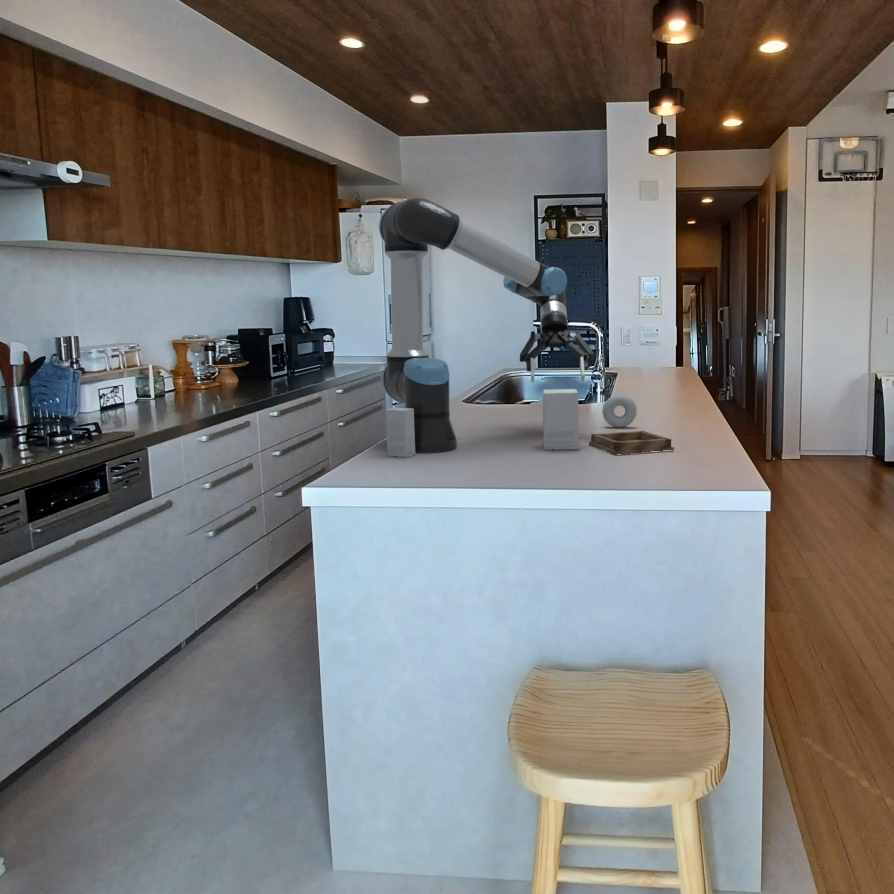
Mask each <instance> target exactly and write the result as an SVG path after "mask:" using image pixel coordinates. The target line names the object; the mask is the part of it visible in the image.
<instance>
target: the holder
mask: <svg viewBox="0 0 894 894" xmlns="http://www.w3.org/2000/svg"><path fill="white" fill-rule="evenodd" d="M590 439H591V441H588V446H589V445H590V447H592V446H593V447H592V448H595V447H596V448H595V449H597V448H599V449H598V450H600V449H602V450H601V451H603V450H605V451H607V452H606V453H608V452H610V453H612V454H611V455H613V454H615V455H614V456H618V455H617V454H628V455H632V454H631V453H642V452H651V451H663V450H674V451H675V447H674V446H672V439H671V438H669V437H665V436H661V435H658V434H654V433H652V432H649V431H644V430H638V431H637V430H635V431H620V432H619V431H617V432H604V433H591V435H590ZM605 451H604V452H605ZM610 453H609V454H610Z"/></svg>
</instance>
